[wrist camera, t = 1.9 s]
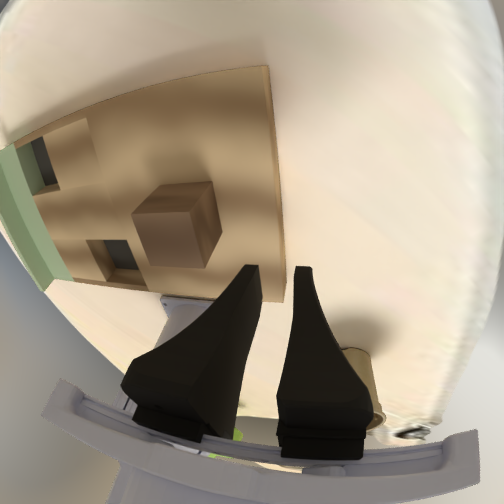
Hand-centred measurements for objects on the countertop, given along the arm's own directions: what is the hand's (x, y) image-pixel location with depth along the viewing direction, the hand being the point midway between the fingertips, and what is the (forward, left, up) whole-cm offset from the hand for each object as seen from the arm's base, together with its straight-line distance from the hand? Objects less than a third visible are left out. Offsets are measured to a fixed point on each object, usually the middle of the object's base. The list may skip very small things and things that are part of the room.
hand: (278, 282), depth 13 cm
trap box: (0, +16, -9) cm, 19 cm away
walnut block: (0, +7, -7) cm, 10 cm away
